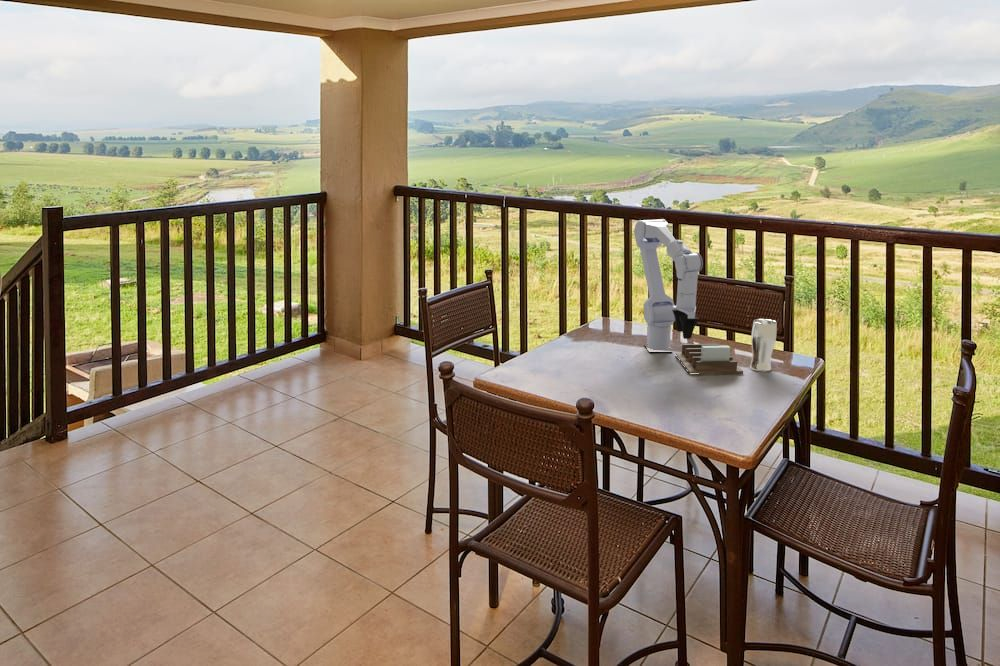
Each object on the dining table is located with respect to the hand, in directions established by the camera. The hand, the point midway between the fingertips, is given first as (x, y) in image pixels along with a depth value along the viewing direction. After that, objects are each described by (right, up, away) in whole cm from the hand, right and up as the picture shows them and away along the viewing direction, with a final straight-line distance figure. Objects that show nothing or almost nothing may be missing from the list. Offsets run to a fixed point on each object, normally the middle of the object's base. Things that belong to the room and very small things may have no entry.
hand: (683, 334), depth 203 cm
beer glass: (+23, -11, -3) cm, 25 cm away
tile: (+8, -10, -6) cm, 14 cm away
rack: (+8, -9, +1) cm, 12 cm away
